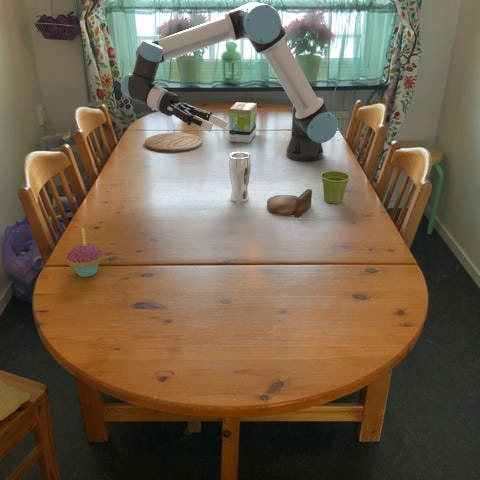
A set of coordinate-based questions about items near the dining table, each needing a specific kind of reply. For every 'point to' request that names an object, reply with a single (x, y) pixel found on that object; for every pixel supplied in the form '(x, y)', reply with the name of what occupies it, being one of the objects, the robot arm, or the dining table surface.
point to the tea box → (242, 122)
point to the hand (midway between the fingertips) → (219, 126)
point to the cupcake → (85, 258)
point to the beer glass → (239, 175)
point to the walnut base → (290, 204)
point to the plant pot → (334, 186)
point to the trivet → (173, 142)
